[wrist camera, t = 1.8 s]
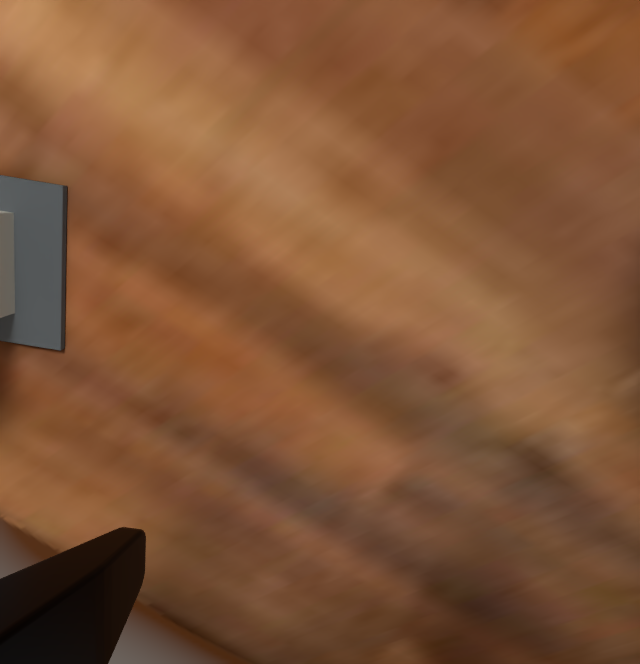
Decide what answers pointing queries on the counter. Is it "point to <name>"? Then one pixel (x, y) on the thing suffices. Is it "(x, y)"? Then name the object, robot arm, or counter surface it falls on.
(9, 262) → the cream block
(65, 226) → the slate mat
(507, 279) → the counter surface
